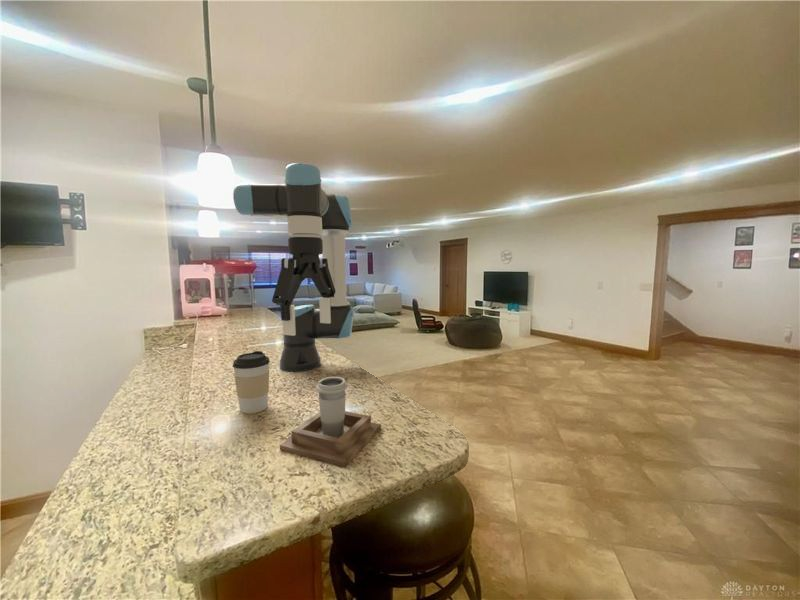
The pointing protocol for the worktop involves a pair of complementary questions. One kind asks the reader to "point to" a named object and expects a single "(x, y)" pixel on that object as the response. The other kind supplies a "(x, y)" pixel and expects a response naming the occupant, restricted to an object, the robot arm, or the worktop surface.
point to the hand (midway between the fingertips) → (308, 328)
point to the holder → (331, 439)
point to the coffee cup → (252, 381)
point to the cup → (332, 405)
